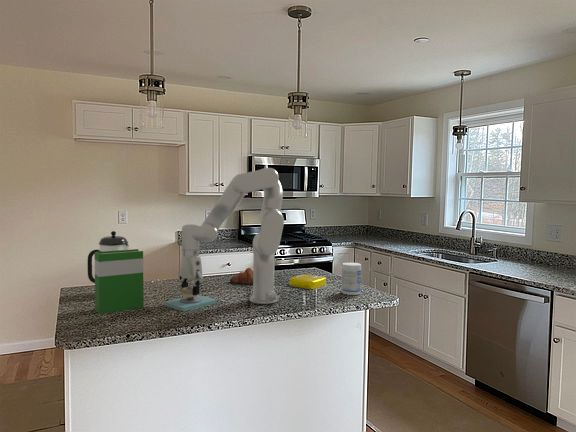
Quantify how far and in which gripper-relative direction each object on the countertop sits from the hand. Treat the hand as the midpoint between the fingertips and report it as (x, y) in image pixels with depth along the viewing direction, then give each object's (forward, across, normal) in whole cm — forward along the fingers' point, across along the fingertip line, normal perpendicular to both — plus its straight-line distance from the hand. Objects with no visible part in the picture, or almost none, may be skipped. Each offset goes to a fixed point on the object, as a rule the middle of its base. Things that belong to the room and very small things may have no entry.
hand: (190, 293), depth 194 cm
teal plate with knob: (+5, 0, 0) cm, 5 cm away
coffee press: (+5, +41, +14) cm, 44 cm away
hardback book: (+5, +16, +24) cm, 29 cm away
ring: (+1, 0, 0) cm, 1 cm away
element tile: (+5, -15, -66) cm, 68 cm away
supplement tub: (+5, -42, -66) cm, 78 cm away
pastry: (+5, +12, -50) cm, 52 cm away
